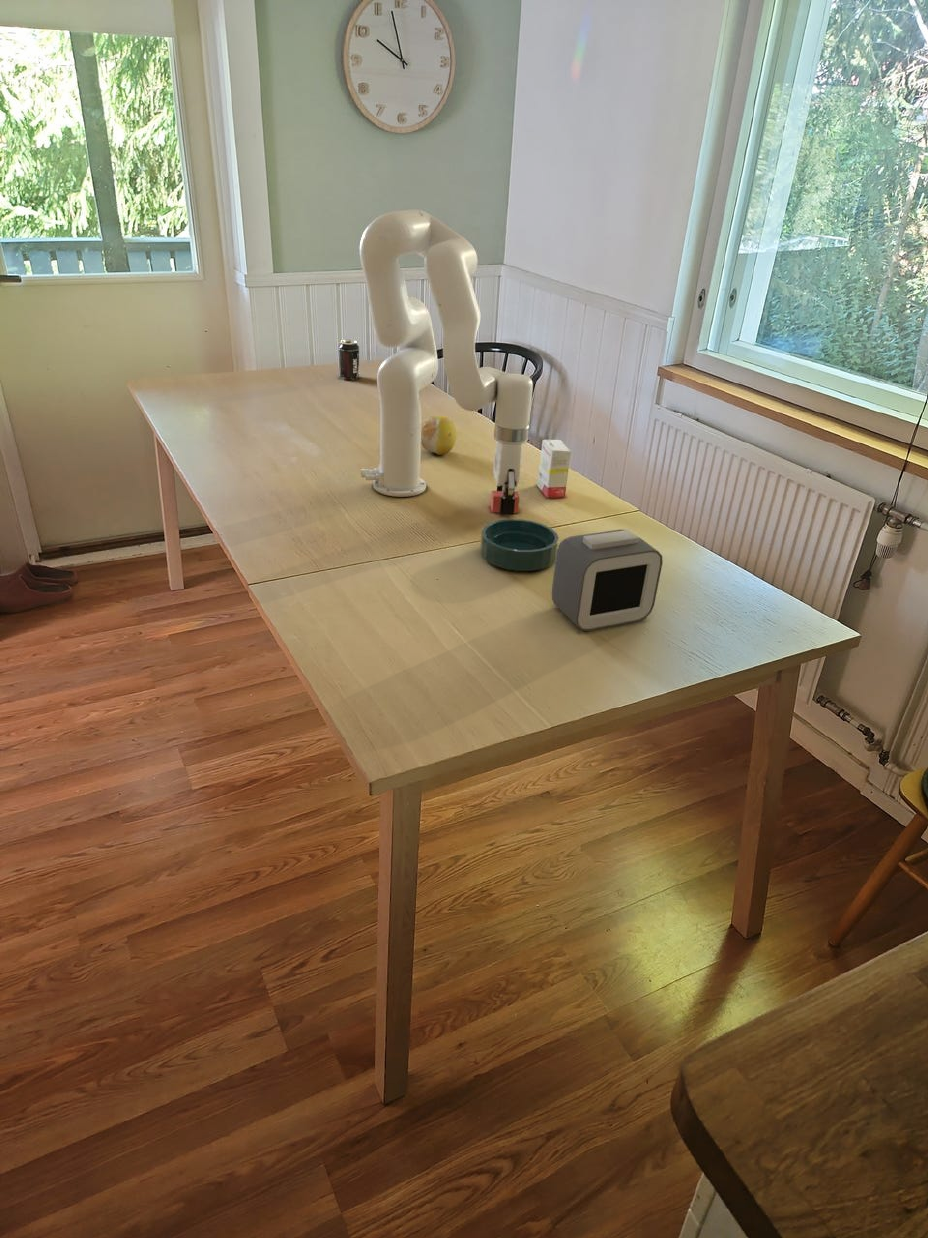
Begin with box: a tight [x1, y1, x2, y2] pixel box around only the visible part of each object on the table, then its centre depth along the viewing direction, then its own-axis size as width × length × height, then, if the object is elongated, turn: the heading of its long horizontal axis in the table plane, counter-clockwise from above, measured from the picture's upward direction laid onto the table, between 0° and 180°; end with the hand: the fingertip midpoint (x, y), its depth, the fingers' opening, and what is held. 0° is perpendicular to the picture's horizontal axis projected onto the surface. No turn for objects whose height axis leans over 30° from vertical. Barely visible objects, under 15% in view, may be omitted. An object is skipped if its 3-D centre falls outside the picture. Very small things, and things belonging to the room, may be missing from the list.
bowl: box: [479, 518, 560, 572], centre depth 172 cm, size 16×16×5 cm
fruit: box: [421, 415, 458, 455], centre depth 221 cm, size 10×11×10 cm
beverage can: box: [337, 339, 360, 381], centre depth 279 cm, size 7×7×12 cm
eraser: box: [490, 490, 520, 514], centre depth 193 cm, size 6×3×4 cm, turn 94°
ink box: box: [536, 439, 572, 499], centre depth 202 cm, size 9×5×12 cm, turn 12°
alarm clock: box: [550, 529, 663, 632], centre depth 152 cm, size 16×11×16 cm
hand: (504, 506), depth 193 cm, fingers open, 6 cm apart
